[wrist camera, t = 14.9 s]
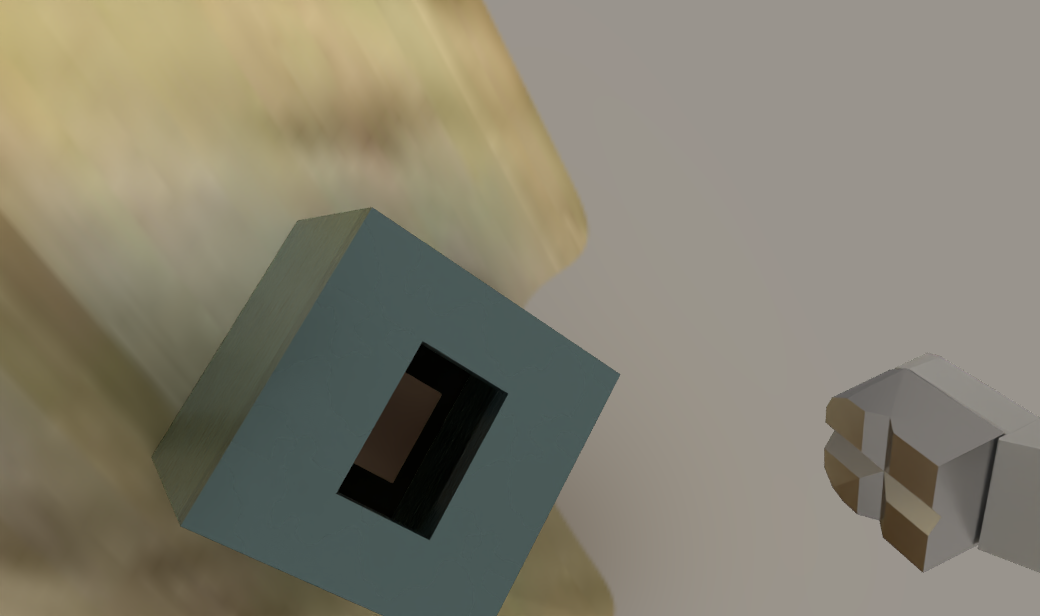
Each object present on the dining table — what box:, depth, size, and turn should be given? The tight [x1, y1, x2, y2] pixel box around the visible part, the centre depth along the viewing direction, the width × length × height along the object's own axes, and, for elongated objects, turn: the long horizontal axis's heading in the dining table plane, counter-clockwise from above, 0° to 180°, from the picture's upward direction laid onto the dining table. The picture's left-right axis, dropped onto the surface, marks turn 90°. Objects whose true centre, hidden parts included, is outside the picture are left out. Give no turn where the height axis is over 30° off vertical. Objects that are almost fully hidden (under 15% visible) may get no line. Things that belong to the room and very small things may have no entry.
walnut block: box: [354, 372, 442, 483], centre depth 38 cm, size 4×2×8 cm, turn 148°
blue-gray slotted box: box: [152, 208, 620, 616], centre depth 36 cm, size 12×12×11 cm
